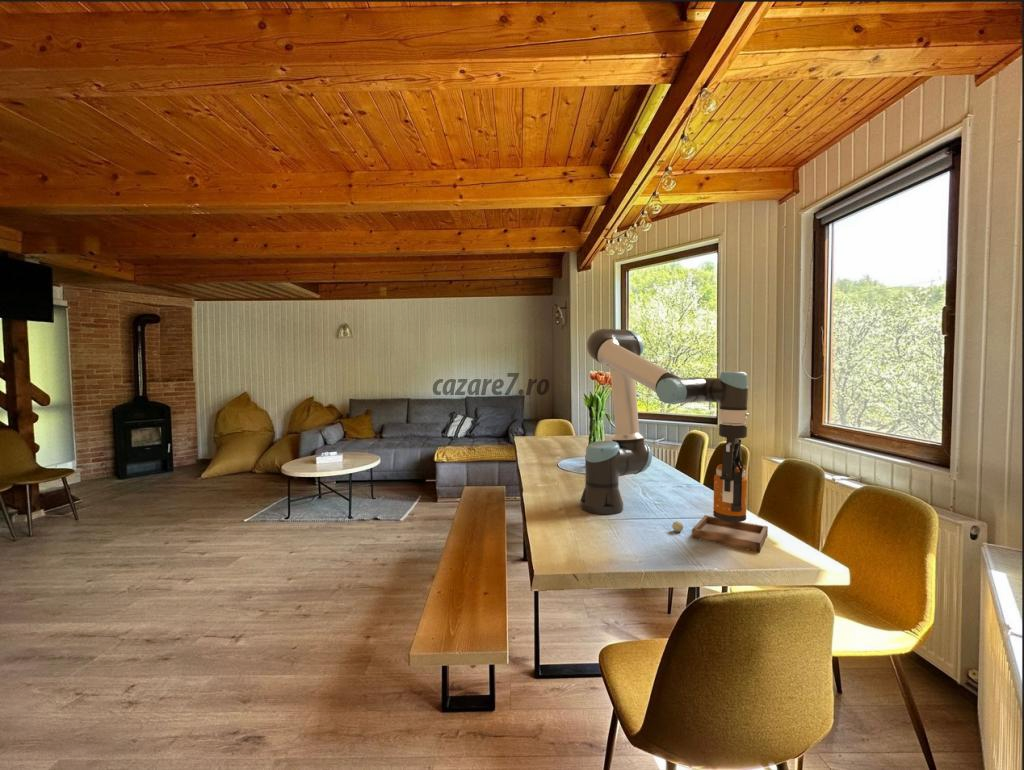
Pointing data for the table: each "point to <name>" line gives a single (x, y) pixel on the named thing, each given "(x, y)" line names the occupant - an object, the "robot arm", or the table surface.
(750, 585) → the table surface
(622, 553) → the table surface
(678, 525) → the ball
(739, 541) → the tray
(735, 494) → the canister
